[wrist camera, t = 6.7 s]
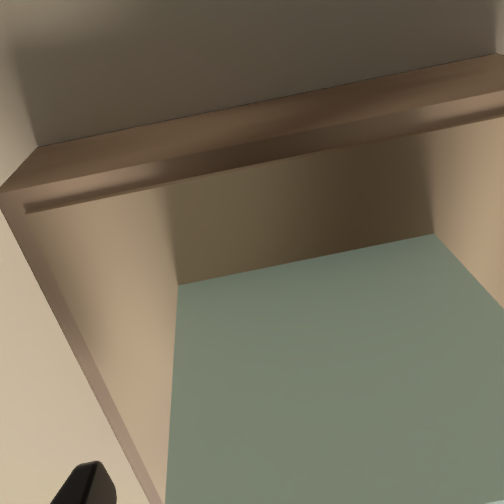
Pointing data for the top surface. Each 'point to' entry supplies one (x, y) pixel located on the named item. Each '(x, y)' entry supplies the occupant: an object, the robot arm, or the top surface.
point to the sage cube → (339, 383)
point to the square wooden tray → (249, 214)
